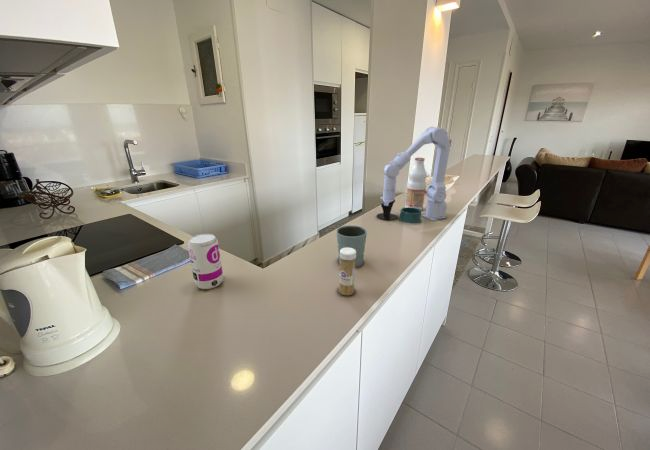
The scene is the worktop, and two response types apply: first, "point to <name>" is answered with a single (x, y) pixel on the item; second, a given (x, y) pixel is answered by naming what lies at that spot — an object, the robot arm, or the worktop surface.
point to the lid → (391, 217)
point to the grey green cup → (352, 241)
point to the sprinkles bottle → (347, 271)
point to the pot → (410, 215)
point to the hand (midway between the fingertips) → (387, 215)
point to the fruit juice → (416, 185)
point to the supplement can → (205, 261)
